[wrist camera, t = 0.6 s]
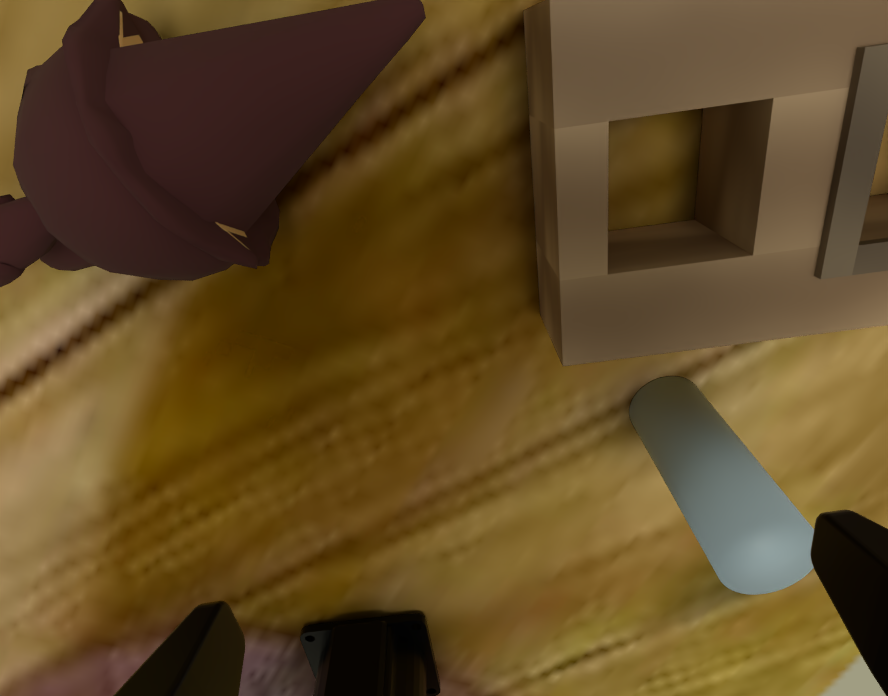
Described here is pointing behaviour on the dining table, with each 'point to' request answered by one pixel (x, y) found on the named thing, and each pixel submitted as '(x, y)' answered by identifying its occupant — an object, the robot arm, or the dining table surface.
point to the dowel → (722, 489)
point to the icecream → (181, 136)
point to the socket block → (711, 171)
